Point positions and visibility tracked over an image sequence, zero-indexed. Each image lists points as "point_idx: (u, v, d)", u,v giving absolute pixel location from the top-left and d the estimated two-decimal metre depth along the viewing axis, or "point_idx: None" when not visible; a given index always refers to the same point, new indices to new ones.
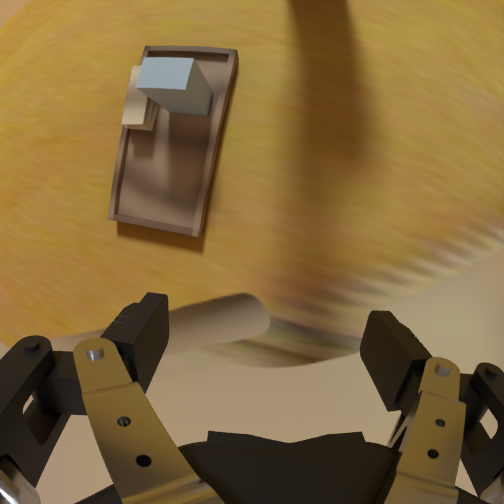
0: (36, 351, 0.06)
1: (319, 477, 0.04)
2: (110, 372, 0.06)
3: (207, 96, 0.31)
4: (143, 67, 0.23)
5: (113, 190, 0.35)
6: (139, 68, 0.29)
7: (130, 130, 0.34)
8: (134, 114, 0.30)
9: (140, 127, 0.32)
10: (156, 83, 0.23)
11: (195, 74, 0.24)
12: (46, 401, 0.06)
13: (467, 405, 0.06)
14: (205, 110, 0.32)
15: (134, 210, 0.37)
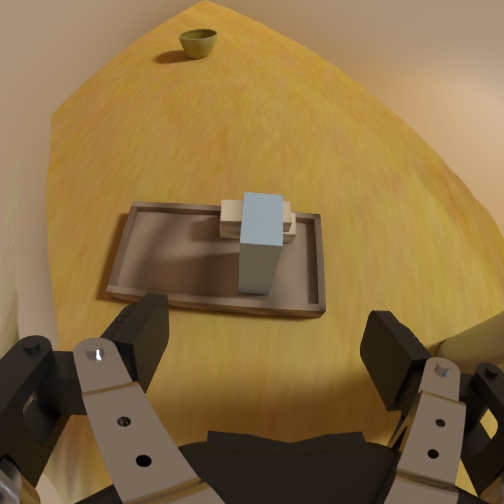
0: (36, 351, 0.06)
1: (319, 477, 0.04)
2: (110, 372, 0.06)
3: (257, 286, 0.31)
4: (269, 196, 0.26)
5: (159, 204, 0.37)
6: (286, 208, 0.34)
7: None
8: (231, 211, 0.33)
9: (221, 222, 0.35)
10: (248, 212, 0.25)
11: (267, 256, 0.25)
12: (46, 401, 0.06)
13: (467, 405, 0.06)
14: (241, 287, 0.31)
15: (139, 227, 0.36)
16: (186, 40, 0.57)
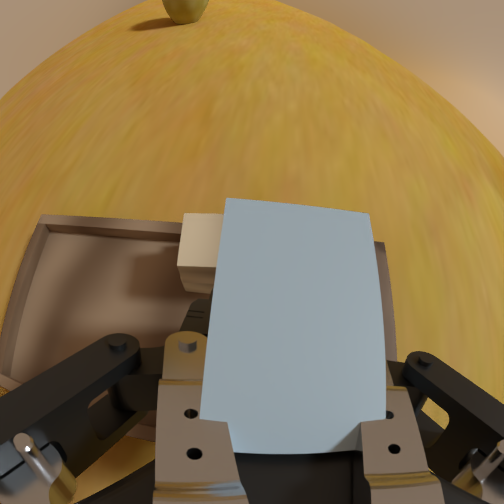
0: (125, 349, 0.07)
1: (319, 477, 0.04)
2: None
3: None
4: (324, 216, 0.07)
5: (79, 219, 0.18)
6: None
7: None
8: (204, 241, 0.14)
9: None
10: (239, 289, 0.06)
11: None
12: (120, 399, 0.07)
13: None
14: None
15: (46, 263, 0.17)
16: None
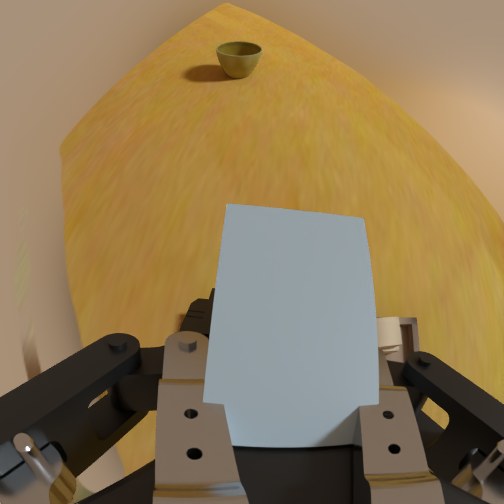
0: (125, 349, 0.07)
1: (319, 477, 0.04)
2: None
3: None
4: (320, 221, 0.07)
5: None
6: (396, 326, 0.27)
7: None
8: None
9: None
10: (239, 291, 0.06)
11: None
12: (120, 399, 0.07)
13: None
14: None
15: None
16: (227, 56, 0.50)
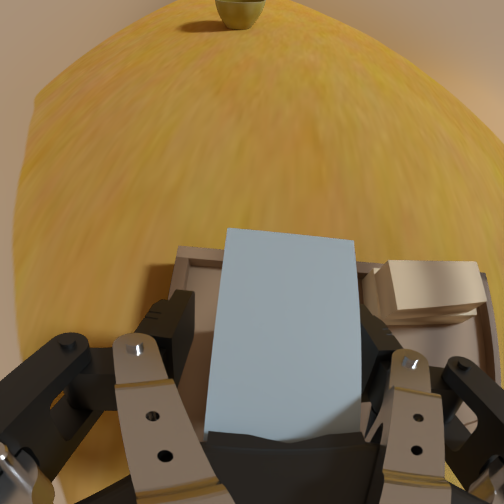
0: (73, 348, 0.06)
1: (319, 477, 0.04)
2: (155, 365, 0.06)
3: None
4: (313, 244, 0.08)
5: None
6: (476, 275, 0.15)
7: (360, 279, 0.19)
8: (410, 286, 0.15)
9: (378, 301, 0.16)
10: (238, 310, 0.07)
11: None
12: (77, 398, 0.06)
13: None
14: None
15: (197, 304, 0.18)
16: (227, 3, 0.39)
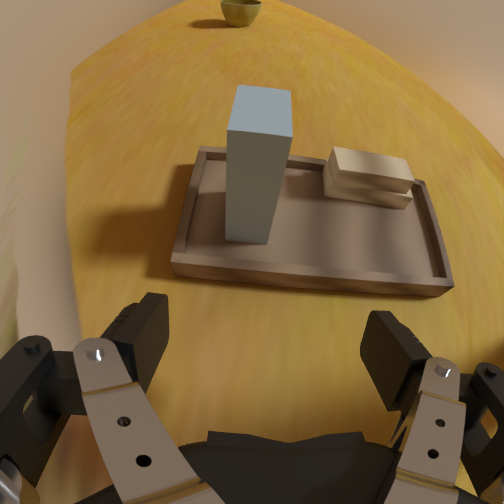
0: (36, 351, 0.06)
1: (319, 477, 0.04)
2: (110, 372, 0.06)
3: (252, 227, 0.22)
4: (272, 90, 0.17)
5: None
6: (405, 165, 0.25)
7: (320, 171, 0.29)
8: (349, 160, 0.24)
9: (330, 175, 0.26)
10: (242, 101, 0.16)
11: (268, 160, 0.16)
12: (46, 401, 0.06)
13: (467, 405, 0.06)
14: (229, 229, 0.22)
15: (211, 178, 0.27)
16: (230, 5, 0.48)
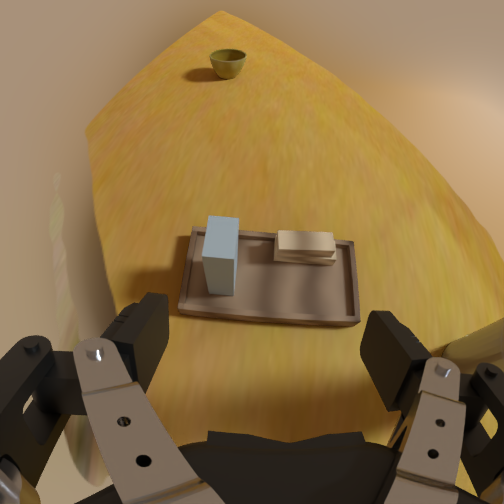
0: (36, 351, 0.06)
1: (319, 477, 0.04)
2: (110, 372, 0.06)
3: (223, 289, 0.38)
4: (228, 219, 0.33)
5: None
6: (330, 238, 0.41)
7: (273, 241, 0.45)
8: (287, 240, 0.40)
9: (276, 248, 0.42)
10: (210, 232, 0.32)
11: (224, 266, 0.32)
12: (46, 401, 0.06)
13: (467, 405, 0.06)
14: (210, 289, 0.39)
15: (200, 250, 0.43)
16: (218, 61, 0.64)
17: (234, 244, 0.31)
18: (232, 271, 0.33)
